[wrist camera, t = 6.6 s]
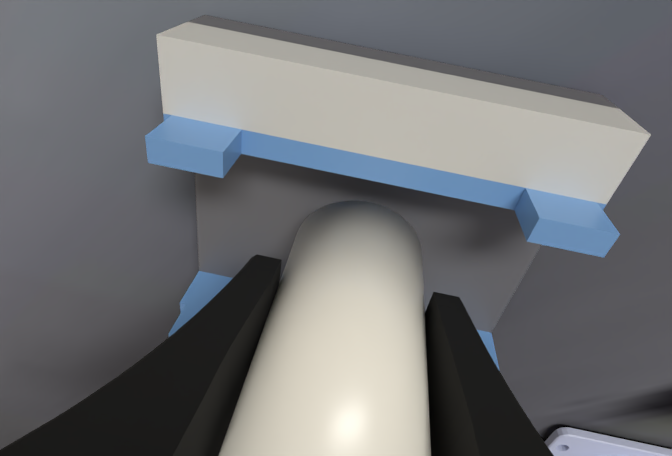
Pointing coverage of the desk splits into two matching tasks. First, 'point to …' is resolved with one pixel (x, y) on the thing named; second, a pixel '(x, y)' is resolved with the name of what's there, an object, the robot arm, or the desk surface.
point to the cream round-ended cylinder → (341, 344)
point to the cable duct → (383, 156)
